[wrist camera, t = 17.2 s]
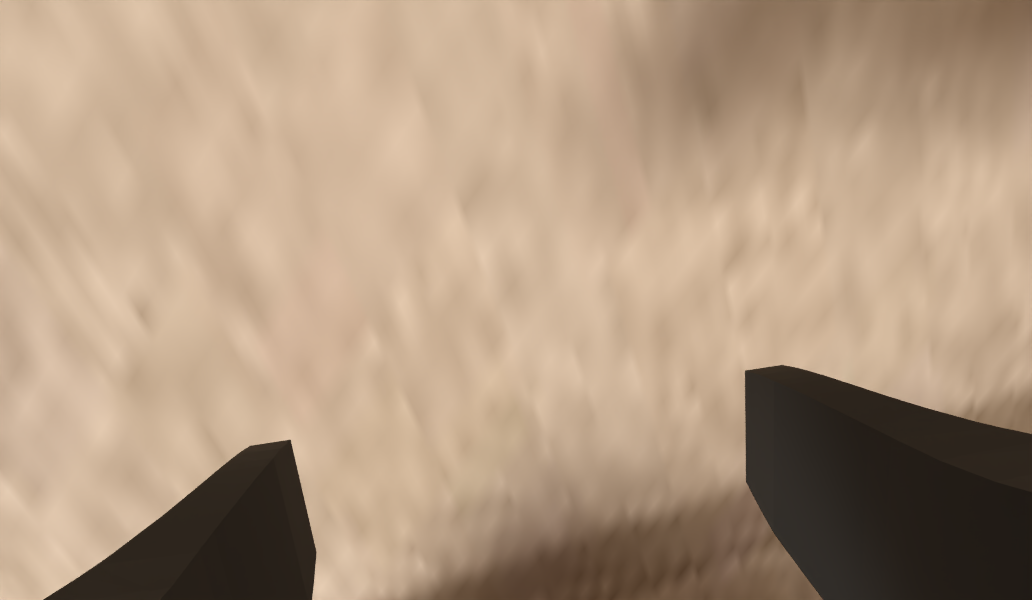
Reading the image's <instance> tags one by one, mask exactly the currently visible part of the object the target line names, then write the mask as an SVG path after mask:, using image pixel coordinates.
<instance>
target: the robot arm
mask: <svg viewBox="0 0 1032 600" xmlns="http://www.w3.org/2000/svg"><path fill="white" fill-rule="evenodd" d="M745 411H746V482H747V484H748V486H749V488H750V490H751V492H752V494H753V496H754V498H755V500H756V502H757V504H758V505H759V507H760V509H761V511H762V513H763V515H764V516H765V518H766V520H767V522H768V524H769V525H770V527H771V529H772V531H773V532H774V534H775V535H776V537H777V538H778V539H779V541H780V542H781V544H782V545H783V546H784V548H785V549H786V550H787V552H788V553H789V554H790V556H791V557H792V558H793V560H794V561H795V563H796V564H797V565H798V567H799V568H800V569H801V571H802V572H803V573H804V575H805V576H806V577H807V579H808V580H809V581H810V583H811V584H812V585H813V587H814V588H815V589H816V591H817V592H818V593H819V595H820V596H821V597H822V599H823V600H1032V434H1029V433H1024V432H1019V431H1014V430H1009V429H1005V428H1000V427H996V426H991V425H987V424H983V423H979V422H975V421H971V420H967V419H964V418H960V417H956V416H953V415H949V414H946V413H942V412H938V411H935V410H931V409H928V408H924V407H921V406H918V405H914V404H911V403H908V402H904V401H901V400H898V399H895V398H892V397H888V396H885V395H882V394H879V393H876V392H873V391H870V390H867V389H864V388H861V387H858V386H855V385H852V384H848V383H845V382H842V381H839V380H836V379H833V378H830V377H827V376H824V375H820V374H817V373H814V372H810V371H807V370H803V369H799V368H795V367H790V366H784V365H779V366H773V367H766V368H760V369H753V370H747V371H745ZM315 563H316V548H315V544H314V540H313V535H312V531H311V527H310V522H309V518H308V514H307V509H306V505H305V501H304V496H303V492H302V488H301V483H300V479H299V475H298V470H297V466H296V462H295V457H294V453H293V449H292V444H291V440H286V441H280V442H273V443H266V444H260V445H253V446H249V447H248V448H246V449H245V450H243V451H242V452H240V453H239V454H237V455H236V456H235V457H233V458H232V459H231V460H230V461H228V462H227V463H226V464H225V465H223V466H222V467H221V468H220V469H219V470H217V471H216V472H215V473H214V474H213V475H211V476H210V477H209V478H208V479H207V480H205V481H204V482H203V483H202V484H201V485H199V486H198V487H197V488H196V489H195V490H193V491H192V492H191V493H190V494H189V495H187V496H186V497H185V498H184V499H182V500H181V501H180V502H179V503H178V504H176V505H175V506H174V507H173V508H172V509H170V510H169V511H168V512H167V513H165V514H164V515H163V516H162V517H160V518H159V519H158V520H156V521H155V522H154V523H152V524H151V525H150V526H148V527H147V528H146V529H145V530H143V531H142V532H141V533H139V534H138V535H137V536H135V537H134V538H133V539H131V540H130V541H129V542H127V543H126V544H125V545H123V546H122V547H121V548H120V549H118V550H117V551H116V552H114V553H113V554H112V555H110V556H109V557H107V558H106V559H105V560H103V561H102V562H100V563H99V564H97V565H96V566H95V567H93V568H92V569H90V570H89V571H87V572H86V573H84V574H83V575H81V576H80V577H78V578H77V579H75V580H74V581H72V582H70V583H69V584H67V585H66V586H64V587H63V588H61V589H59V590H58V591H56V592H55V593H53V594H52V595H50V596H48V597H47V598H45V599H44V600H312V594H313V585H314V574H315Z"/></svg>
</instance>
